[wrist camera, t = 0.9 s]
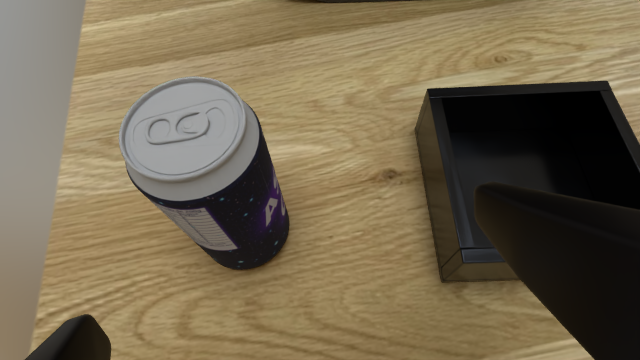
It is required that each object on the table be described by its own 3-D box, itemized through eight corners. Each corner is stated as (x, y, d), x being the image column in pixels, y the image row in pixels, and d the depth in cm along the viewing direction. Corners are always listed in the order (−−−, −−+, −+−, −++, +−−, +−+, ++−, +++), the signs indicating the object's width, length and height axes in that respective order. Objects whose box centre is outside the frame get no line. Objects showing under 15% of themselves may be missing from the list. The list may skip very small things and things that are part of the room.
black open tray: (633, 276, 22) (698, 255, 18) (441, 282, 23) (463, 263, 19) (568, 122, 28) (607, 80, 24) (414, 128, 28) (427, 88, 24)
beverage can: (295, 265, 23) (261, 175, 13) (207, 280, 23) (98, 201, 13) (285, 187, 26) (250, 59, 16) (206, 200, 26) (115, 79, 15)
